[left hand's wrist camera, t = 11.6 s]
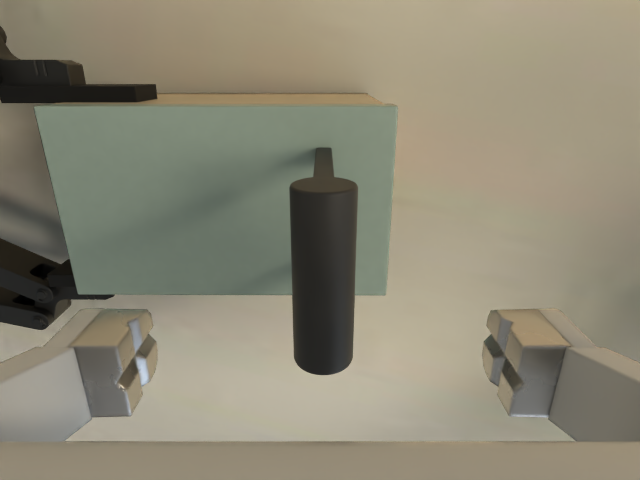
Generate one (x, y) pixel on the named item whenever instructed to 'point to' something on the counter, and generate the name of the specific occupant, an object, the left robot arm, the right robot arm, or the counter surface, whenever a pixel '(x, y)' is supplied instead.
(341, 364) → the lid
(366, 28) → the counter surface
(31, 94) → the right robot arm
